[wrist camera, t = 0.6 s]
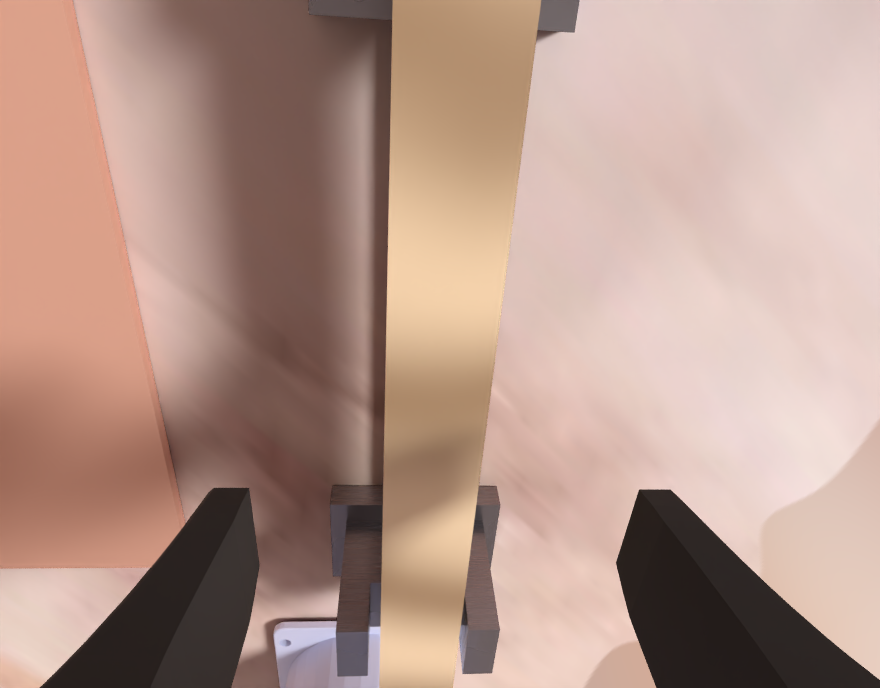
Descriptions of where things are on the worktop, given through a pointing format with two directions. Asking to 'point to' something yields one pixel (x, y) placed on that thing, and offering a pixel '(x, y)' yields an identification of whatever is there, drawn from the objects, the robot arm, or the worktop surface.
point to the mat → (70, 324)
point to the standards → (362, 506)
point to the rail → (444, 305)
